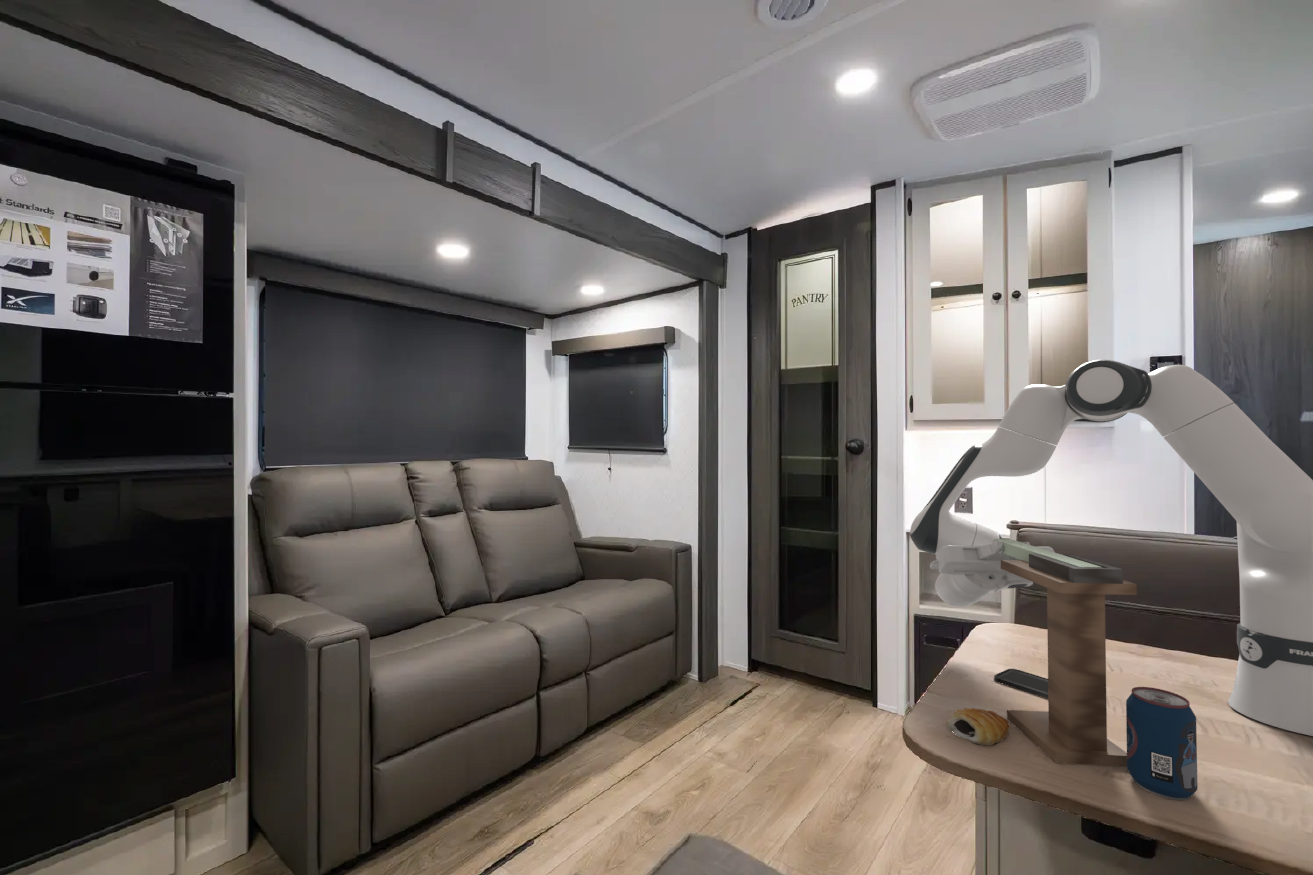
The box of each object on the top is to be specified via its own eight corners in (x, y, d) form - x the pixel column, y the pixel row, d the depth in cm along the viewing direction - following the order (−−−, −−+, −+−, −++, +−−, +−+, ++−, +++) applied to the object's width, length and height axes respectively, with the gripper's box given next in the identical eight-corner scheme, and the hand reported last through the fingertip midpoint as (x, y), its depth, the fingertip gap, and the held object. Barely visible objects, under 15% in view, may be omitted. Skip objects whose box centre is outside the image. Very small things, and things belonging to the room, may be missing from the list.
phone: (1011, 667, 112) (1101, 695, 100) (1011, 673, 112) (1102, 701, 100) (991, 676, 108) (1083, 706, 95) (991, 682, 108) (1083, 713, 95)
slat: (1011, 550, 103) (1010, 539, 103) (1102, 581, 79) (1102, 566, 79) (994, 549, 103) (993, 539, 103) (1079, 580, 80) (1079, 566, 80)
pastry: (980, 718, 93) (980, 695, 93) (1022, 737, 87) (1022, 712, 87) (943, 731, 89) (943, 707, 89) (984, 752, 83) (984, 726, 83)
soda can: (1127, 765, 79) (1126, 680, 79) (1195, 785, 74) (1194, 694, 75) (1126, 788, 74) (1125, 696, 74) (1199, 810, 69) (1197, 713, 69)
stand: (1065, 717, 93) (1063, 548, 94) (1139, 772, 77) (1136, 569, 78) (1002, 714, 94) (1000, 547, 94) (1062, 769, 78) (1060, 568, 78)
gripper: (923, 553, 114) (948, 528, 102) (1029, 555, 112) (1067, 529, 100) (929, 584, 111) (956, 561, 99) (1038, 586, 109) (1079, 563, 97)
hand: (1013, 545), depth 100 cm, fingers closed on slat, 3 cm apart
